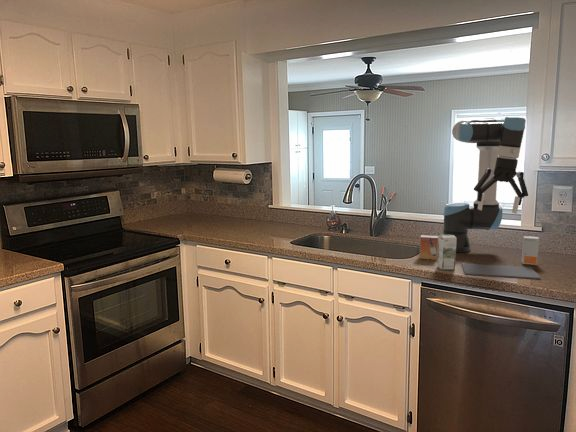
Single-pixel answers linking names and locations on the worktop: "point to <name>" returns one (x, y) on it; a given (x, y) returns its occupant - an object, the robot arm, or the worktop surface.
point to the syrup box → (447, 252)
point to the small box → (428, 247)
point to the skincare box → (530, 250)
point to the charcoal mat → (500, 271)
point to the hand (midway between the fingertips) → (496, 211)
